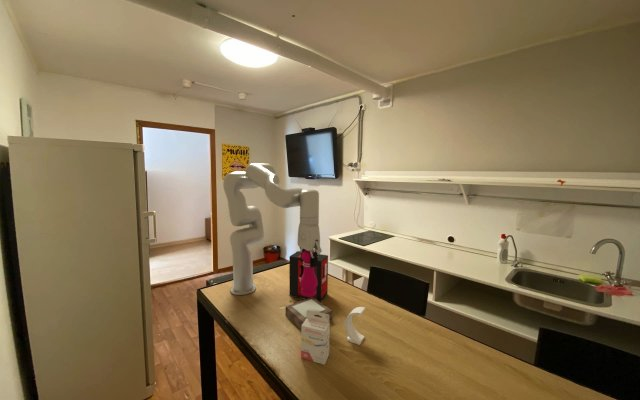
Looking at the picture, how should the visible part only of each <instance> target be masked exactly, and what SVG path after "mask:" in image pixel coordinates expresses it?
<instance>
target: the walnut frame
mask: <svg viewBox="0 0 640 400" xmlns="http://www.w3.org/2000/svg"><path fill="white" fill-rule="evenodd" d="M307 310H310V311H315V312H320V313H324V314H328V315H329V322H331V321H332V320H333V310H332V309H330V308H329V307H328V306H327V305H325V304H323V302H319V301H318V300H316V299H315V298H313V297H311V298H308V299H302V300H300V301H297V302H295V303H292V304H289V305H286V306H285V316H286V317H287V318H288V320H290V321H291V322H292V323H293V324H294V325H295V326H296V327H297V328H298V329H300V330H301V327H302V324H303V323H304V321H305V320H306V318H307ZM314 316H316V317H320V318H322V316H319V315H314Z"/></svg>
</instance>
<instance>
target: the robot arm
mask: <svg viewBox="0 0 640 400" xmlns="http://www.w3.org/2000/svg"><path fill="white" fill-rule="evenodd" d="M276 173H277V172H276V169H275V167H274V166H273V165H272V164H270V163H260V162H259V163H258V162H254V163H250V164H248V166H246V168H245V170H244V171H233V172H229V173H227V174H226V175H225V176H224V178H223V181H222V183H223V184H222V186H223V190H224V193H225V196H226V200H227V206H228V213H229V219H230V223H231V225H232V226H233V227H242V226H243V228H240V229H236V230H234V231H232V232H231V234H230V236H229V242H230V246H231V247H230V248H231V252H232V253H231V254H232V271H233V273H232V275H233V280H232V281H233V285H232V286H231V287H230V293H231V295H232V294H233V295H234V296H245V295H249V294H252V293H253V292H255V291H256V290H257V285H256V284H255V283H254V274H253V273H254V271H253V268H254V267H253V266H254V264H253V262H254V261H253V253H252V252H251V250H250V249H249V247H252V246H254V245H258V244H260V243H261V244H262V241H263V240H264V238H265V232H264V225H263V218H262V213H261V211H260V209H259V208H258V207H257V206H255V205H247V201H246V200H247V199H246V197H245V195H244V194H243V193H244V192H242V191H241V190H243V189H244V190H245V189H247V190H249V189H256V188H261V189H262V190H264V193H265V195H266V197H267V199H268V200H269V201H270V202H271V203H273V204H274V205H276V206H277V207H280V208H282V209H290V208H294V207H295V208H296V207H299V224H298V231H297V246H298V247H299V251H300V252H301V262H302V263H303V259H302V253H303V252H304V251H305V250H307V251H310V253H311V258H310V267H311V268H312V267H316V266H317V264H318V256H319V254H321V253H322V252H323V250H322V248H321V233H320V225H319V223H320V222H319V221H320V206H319V205H320V192H319V191H318V190H315V189H304V188H302V187H301V188H299V187H297V188H296V187H295V188H282V187H281V186H280V185H279V184H280V177H279V175H278V174H276ZM244 226H248V227H244ZM313 251H315V253H314V254H313Z"/></svg>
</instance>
